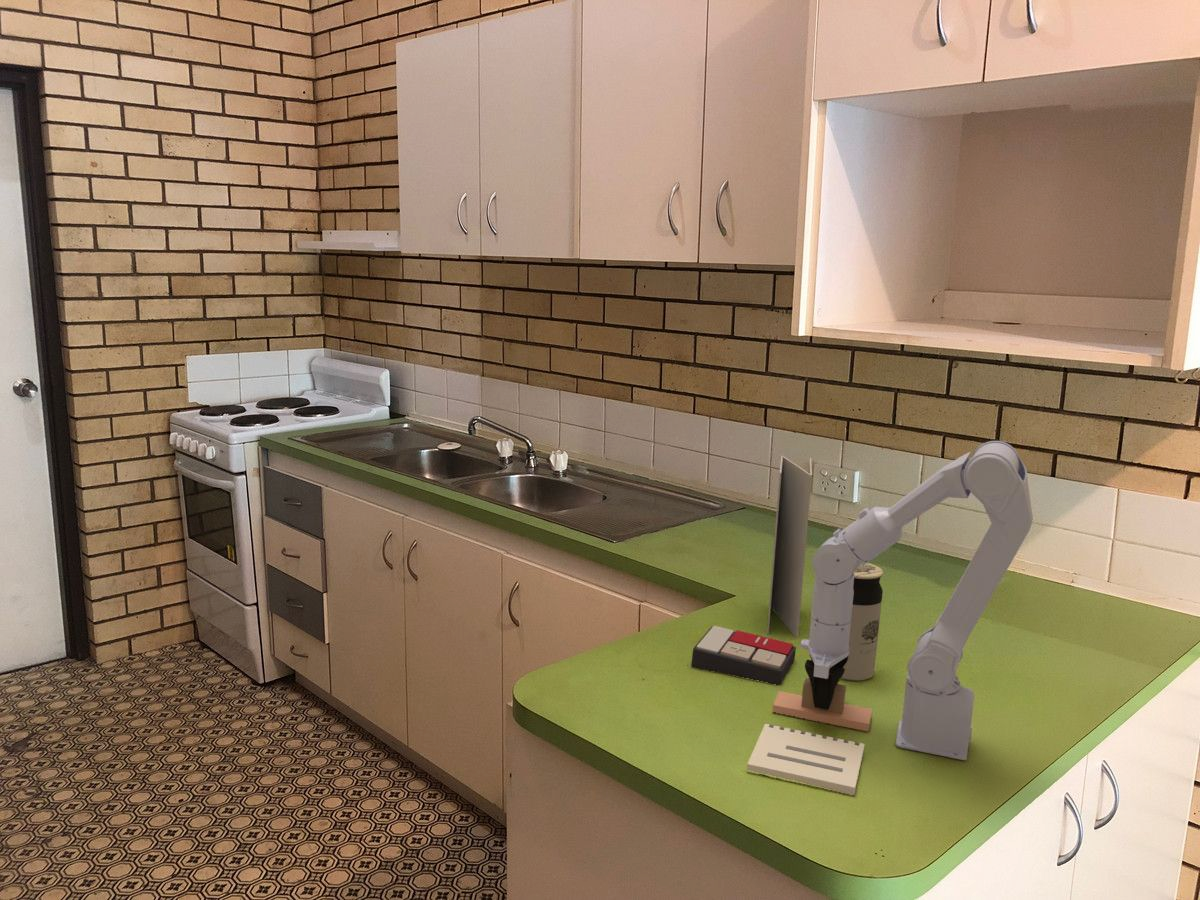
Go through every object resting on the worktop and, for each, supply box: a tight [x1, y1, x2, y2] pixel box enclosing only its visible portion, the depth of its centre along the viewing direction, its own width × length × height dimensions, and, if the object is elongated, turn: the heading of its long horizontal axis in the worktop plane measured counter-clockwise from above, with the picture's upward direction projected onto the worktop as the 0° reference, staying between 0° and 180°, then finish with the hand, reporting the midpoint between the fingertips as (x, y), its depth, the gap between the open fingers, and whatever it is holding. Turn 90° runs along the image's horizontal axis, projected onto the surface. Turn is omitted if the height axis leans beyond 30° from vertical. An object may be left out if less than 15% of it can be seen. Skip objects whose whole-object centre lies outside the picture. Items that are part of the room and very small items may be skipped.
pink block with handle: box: [772, 677, 873, 732], centre depth 146 cm, size 14×5×5 cm, turn 69°
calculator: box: [690, 625, 797, 686], centre depth 163 cm, size 11×4×15 cm
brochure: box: [766, 455, 813, 638], centre depth 179 cm, size 14×6×30 cm, turn 168°
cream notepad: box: [746, 723, 866, 796], centre depth 133 cm, size 14×12×1 cm
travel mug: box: [841, 562, 884, 682], centre depth 160 cm, size 8×8×18 cm
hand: (823, 703), depth 146 cm, fingers closed on pink block with handle, 2 cm apart
